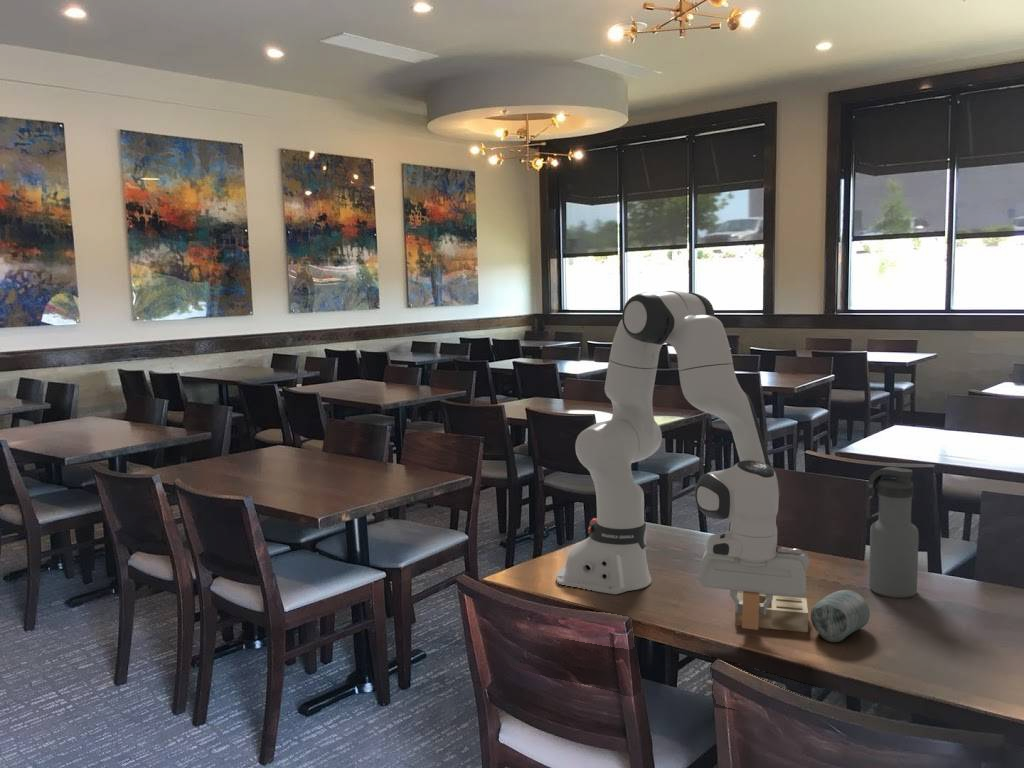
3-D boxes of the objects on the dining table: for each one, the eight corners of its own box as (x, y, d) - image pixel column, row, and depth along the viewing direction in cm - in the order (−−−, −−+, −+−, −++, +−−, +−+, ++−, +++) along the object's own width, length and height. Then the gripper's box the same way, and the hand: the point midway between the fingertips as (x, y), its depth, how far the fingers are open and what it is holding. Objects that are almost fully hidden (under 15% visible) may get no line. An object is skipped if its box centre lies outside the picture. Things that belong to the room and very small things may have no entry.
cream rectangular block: (735, 625, 165) (735, 605, 165) (736, 610, 173) (736, 591, 172) (807, 632, 161) (808, 611, 160) (806, 616, 168) (806, 596, 168)
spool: (848, 638, 150) (834, 584, 154) (805, 646, 157) (793, 594, 161) (888, 637, 158) (874, 585, 162) (846, 644, 165) (833, 595, 169)
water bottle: (859, 590, 182) (861, 468, 179) (879, 579, 189) (882, 462, 186) (904, 602, 175) (908, 476, 172) (924, 591, 181) (928, 468, 178)
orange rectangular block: (742, 627, 158) (743, 593, 157) (743, 617, 162) (744, 584, 162) (758, 629, 157) (759, 595, 156) (758, 619, 162) (759, 586, 161)
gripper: (809, 544, 157) (806, 612, 159) (701, 535, 164) (700, 600, 166) (810, 555, 151) (807, 625, 153) (699, 544, 158) (697, 612, 160)
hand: (750, 612), depth 159 cm, fingers closed on orange rectangular block, 3 cm apart
